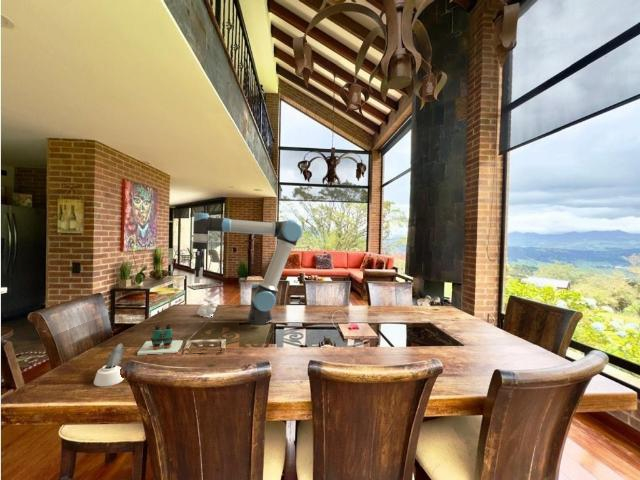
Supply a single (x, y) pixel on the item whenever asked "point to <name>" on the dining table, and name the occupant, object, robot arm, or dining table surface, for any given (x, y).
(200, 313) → the rabbit
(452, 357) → the dining table surface
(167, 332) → the binoculars
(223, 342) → the frame
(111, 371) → the inkwell
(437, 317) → the dining table surface
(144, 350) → the pad
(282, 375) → the dining table surface
